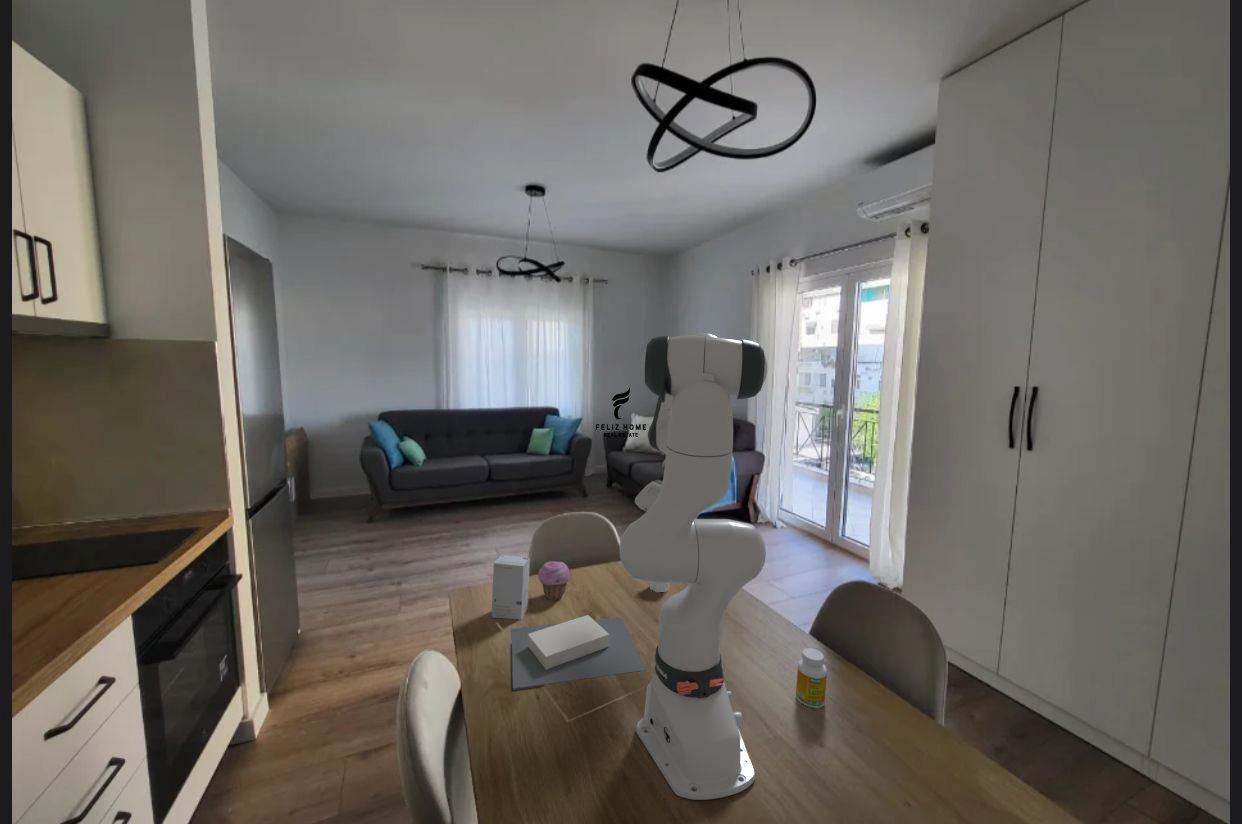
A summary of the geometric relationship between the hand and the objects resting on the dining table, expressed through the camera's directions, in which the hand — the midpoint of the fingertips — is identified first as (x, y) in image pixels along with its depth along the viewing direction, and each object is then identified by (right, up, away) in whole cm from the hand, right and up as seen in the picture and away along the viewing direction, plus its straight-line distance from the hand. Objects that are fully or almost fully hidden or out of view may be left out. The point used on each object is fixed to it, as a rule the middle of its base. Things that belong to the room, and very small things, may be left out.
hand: (648, 529), depth 121 cm
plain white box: (-12, -23, -6) cm, 27 cm away
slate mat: (-18, -25, -10) cm, 33 cm away
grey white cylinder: (+5, -23, +21) cm, 31 cm away
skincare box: (-36, -24, +5) cm, 43 cm away
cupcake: (-26, -23, +14) cm, 37 cm away
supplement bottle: (+31, -28, -25) cm, 49 cm away
